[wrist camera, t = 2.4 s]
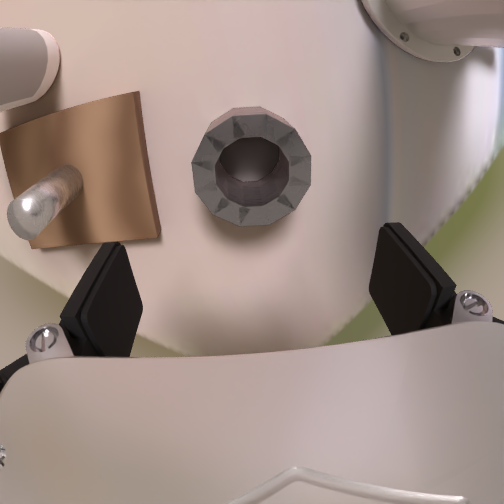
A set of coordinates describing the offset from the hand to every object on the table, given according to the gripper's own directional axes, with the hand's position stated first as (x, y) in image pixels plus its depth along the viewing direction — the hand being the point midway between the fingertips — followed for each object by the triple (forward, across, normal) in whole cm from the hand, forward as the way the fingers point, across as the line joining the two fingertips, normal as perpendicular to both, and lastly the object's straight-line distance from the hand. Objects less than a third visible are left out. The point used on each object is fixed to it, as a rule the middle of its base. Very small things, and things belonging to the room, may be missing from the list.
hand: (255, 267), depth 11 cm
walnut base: (+15, +14, -1) cm, 21 cm away
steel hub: (+15, -1, -1) cm, 15 cm away
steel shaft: (+13, +14, -1) cm, 20 cm away
